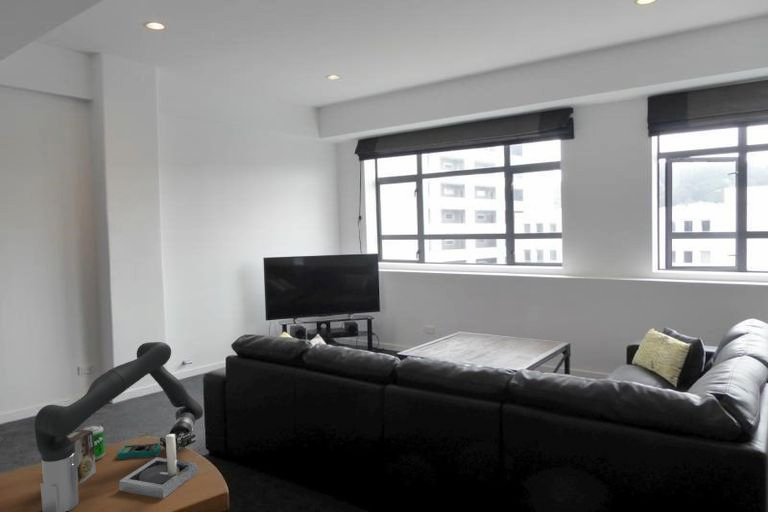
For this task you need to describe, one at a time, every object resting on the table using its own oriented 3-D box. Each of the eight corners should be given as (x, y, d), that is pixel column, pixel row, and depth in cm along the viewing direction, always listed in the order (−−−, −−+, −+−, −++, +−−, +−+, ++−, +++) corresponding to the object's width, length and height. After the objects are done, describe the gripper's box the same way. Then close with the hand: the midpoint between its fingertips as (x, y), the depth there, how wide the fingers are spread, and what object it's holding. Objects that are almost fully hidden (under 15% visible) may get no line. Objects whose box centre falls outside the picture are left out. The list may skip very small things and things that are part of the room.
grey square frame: (163, 498, 177) (162, 488, 177) (119, 490, 182) (118, 480, 182) (198, 472, 194) (197, 462, 194) (156, 466, 199) (156, 456, 199)
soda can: (85, 455, 210) (83, 425, 209) (106, 452, 212) (104, 422, 211) (80, 463, 202) (78, 433, 201) (103, 460, 205) (100, 430, 204)
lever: (131, 487, 183) (128, 441, 182) (154, 469, 196) (152, 425, 194) (165, 490, 180) (163, 444, 179) (187, 471, 193) (185, 428, 192)
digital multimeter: (157, 457, 207) (156, 450, 207) (116, 460, 206) (116, 453, 205) (162, 449, 215) (162, 442, 214) (123, 452, 213) (123, 444, 213)
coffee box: (80, 471, 196) (77, 429, 195) (96, 472, 195) (93, 429, 194) (62, 484, 188) (58, 439, 186) (78, 485, 186) (75, 440, 185)
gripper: (163, 422, 203) (152, 442, 186) (199, 419, 205) (192, 438, 188) (164, 441, 204) (153, 462, 187) (200, 437, 206) (193, 458, 189)
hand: (173, 450), depth 188 cm, fingers closed
